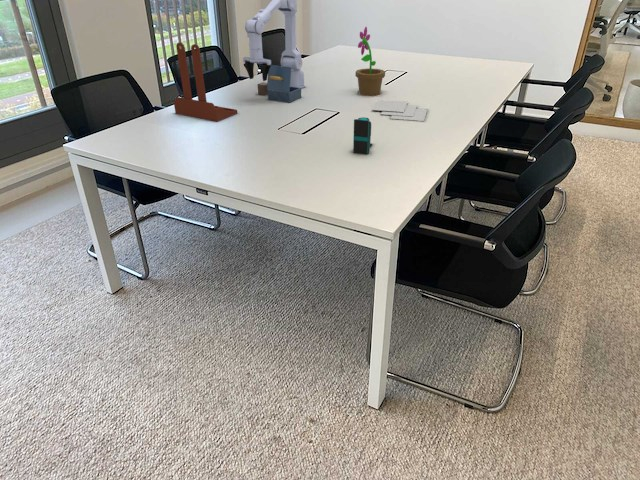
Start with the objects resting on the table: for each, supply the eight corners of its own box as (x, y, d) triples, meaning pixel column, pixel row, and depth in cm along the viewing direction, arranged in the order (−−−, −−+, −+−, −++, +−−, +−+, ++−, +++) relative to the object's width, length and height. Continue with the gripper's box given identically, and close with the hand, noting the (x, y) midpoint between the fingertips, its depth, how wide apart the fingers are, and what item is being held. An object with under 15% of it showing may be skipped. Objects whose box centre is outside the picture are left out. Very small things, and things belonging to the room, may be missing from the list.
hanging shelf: (237, 113, 217) (230, 41, 202) (217, 121, 208) (208, 46, 192) (196, 106, 228) (186, 36, 212) (175, 113, 218) (163, 41, 203)
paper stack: (429, 104, 225) (429, 102, 225) (423, 121, 204) (423, 119, 204) (378, 101, 231) (378, 99, 230) (368, 117, 210) (368, 115, 210)
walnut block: (263, 92, 247) (262, 82, 244) (270, 93, 245) (269, 83, 243) (258, 94, 244) (257, 84, 241) (265, 95, 242) (264, 85, 239)
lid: (269, 64, 230) (264, 64, 227) (291, 67, 225) (286, 66, 221) (267, 89, 234) (262, 89, 230) (289, 92, 228) (284, 92, 225)
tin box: (280, 94, 244) (279, 85, 241) (301, 97, 238) (301, 87, 236) (267, 99, 236) (267, 89, 234) (289, 102, 231) (289, 93, 228)
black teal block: (376, 112, 175) (369, 121, 167) (375, 144, 182) (368, 154, 174) (361, 111, 177) (353, 119, 169) (360, 143, 183) (352, 152, 175)
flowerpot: (363, 88, 252) (365, 24, 236) (388, 91, 245) (392, 26, 230) (349, 94, 241) (351, 28, 226) (376, 98, 235) (379, 30, 219)
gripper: (237, 48, 222) (240, 79, 229) (263, 51, 216) (266, 83, 223) (247, 46, 227) (249, 76, 234) (273, 48, 221) (274, 79, 228)
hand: (258, 79), depth 229 cm, fingers open, 7 cm apart
